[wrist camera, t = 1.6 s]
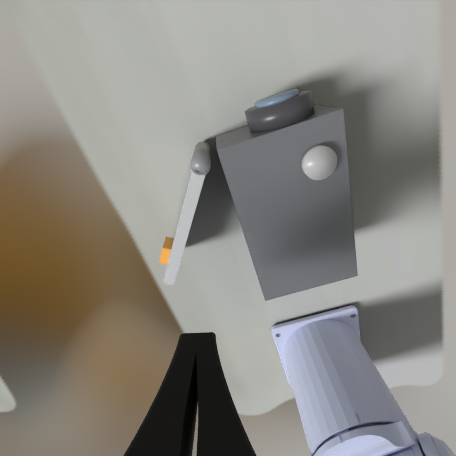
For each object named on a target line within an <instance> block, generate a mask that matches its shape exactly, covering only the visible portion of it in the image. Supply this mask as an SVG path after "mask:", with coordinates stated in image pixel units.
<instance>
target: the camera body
mask: <svg viewBox="0 0 456 456" xmlns="http://www.w3.org/2000/svg"><path fill="white" fill-rule="evenodd" d="M245 114H246V118H247V122H248V125H247V126H244V127H241V128H238V129H235V130H232V131H229V132H226V133H223V134H220V135H217V136H216V146H217V152H218V155H219V158H220V162H221V165H222V168H223V171H224V174H225V177H226V180H227V183H228V186H229V190H230V193H231V196H232V199H233V202H234V205H235V208H236V211H237V214H238V217H239V221H240V224H241V227H242V230H243V233H244V236H245V239H246V242H247V245H248V248H249V252H250V255H251V258H252V261H253V264H254V267H255V270H256V273H257V276H258V280H259V283H260V286H261V289H262V292H263V295H264V298H265V301H266V300H270V299H274V298H277V297H281V296H285V295H288V294H292V293H296V292H300V291H303V290H307V289H311V288H314V287H318V286H322V285H325V284H329V283H333V282H337V281H340V280H344V279H348V278H351V277H355V276H358V274H357V262H356V251H355V239H354V227H353V215H352V203H351V191H350V179H349V167H348V156H347V144H346V132H345V120H344V109H343V108H335V107H326V106H318V105H314V103H313V96H312V90H306V91H301V92H299V90H298V89H293V90H289V91H285V92H282V93H278V94H275V95H272V96H269V97H267V98H264V99H261V100H259V101H257V102H255V106H254V107H252V108H250V109H248V110H246V111H245Z"/></svg>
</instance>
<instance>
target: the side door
mask: <svg viewBox="0 0 456 456" xmlns="http://www.w3.org/2000/svg"><path fill="white" fill-rule="evenodd" d="M210 168H211V148H210V146H209V144H207V143H206V142H200V143H198V144H197V145H196V147H195V150H194V153H193V157H192V160H191V169H192V171H191V175H190V179H189V183H188V187H187V191H186V195H185V198H184V202H183V206H182V210H181V214H180V218H179V222H178V225H177V229H176V233H175V237H174V238H169V237H166V238H165V242H164V245H163V248H162V252H161V256H160V261H159V263H162V264H166V265H167V268H166V272H165V276H164V280H163V283H164V284H169V285H174V283H175V280H176V276H177V273H178V269H179V266H180V262H181V259H182V255H183V252H184V248H185V245H186V241H187V238H188V234H189V231H190V227H191V224H192V220H193V217H194V213H195V210H196V206H197V203H198V199H199V196H200V192H201V189H202V185H203V182H204V178H205V175H206V174H207V173H208V172H209V171H210Z"/></svg>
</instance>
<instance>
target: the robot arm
mask: <svg viewBox="0 0 456 456" xmlns="http://www.w3.org/2000/svg"><path fill="white" fill-rule="evenodd" d="M271 331H272V335H273V338H274V341H275V344H276V347H277V350H278V353H279V356H280V359H281V362H282V365H283V368H284V371H285V374H286V377H287V380H288V383H289V385H291V386H292V388H293V391H294V395H295V399H296V402H297V406H298V409H299V413H300V416H301V420H302V424H303V428H304V431H305V435H306V439H307V442H308V446H309V449H310V453H311V456H455V454H454V453H453V452H452V450H451V449H450V448H449V447H448V446H447V445H446V443H444V441H442V440H440V439H438V438H436V437H433V436H432V435H431V434H429V433H427V432H424V433H422V434H419V435H418V434H417V433H416V432H415V431H414V430H413V428H412V427H411V425H410V423H409V422H408V420H407V418H406V417H405V415H404V413H403V412H402V410H401V408H400V407H399V405H398V403H397V401H396V400H395V398H394V397H393V395H392V393H391V392H390V390H389V388H388V386H387V385H386V383H385V381H384V380H383V378H382V376H381V375H380V373H379V371H378V370H377V368H376V366H375V365H374V363H373V361H372V360H371V358H370V356H369V355H368V353H367V351H366V350H365V348H364V346H363V345H362V343H361V339H360V328H359V317H358V310H357V308H356V307H355V306H353V305H351V306H347V307H343V308H339V309H335V310H331V311H328V312H324V313H320V314H316V315H312V316H308V317H305V318H301V319H297V320H293V321H289V322H286V323H282V324H278V325H274V326H273V327H272V328H271ZM197 405H198V441H197V456H256V454H255V452H254V450H253V448H252V446H251V443H250V441H249V439H248V437H247V434H246V432H245V430H244V428H243V425H242V423H241V420H240V418H239V415H238V413H237V410H236V408H235V405H234V403H233V400H232V397H231V395H230V392H229V389H228V386H227V383H226V380H225V377H224V374H223V370H222V367H221V363H220V359H219V355H218V350H217V345H216V335H215V334H214V333H213V332H210V333H184V334H181V335H180V338H179V341H178V344H177V348H176V350H175V353H174V356H173V359H172V361H171V364H170V366H169V369H168V371H167V373H166V376H165V378H164V380H163V382H162V385H161V387H160V389H159V391H158V393H157V395H156V397H155V399H154V401H153V403H152V405H151V407H150V409H149V411H148V413H147V415H146V417H145V419H144V421H143V423H142V424H141V426H140V428H139V430H138V432H137V434H136V435H135V437H134V439H133V440H132V442H131V444H130V446H129V448H128V449H127V451H126V452H125V454H124V456H192V449H193V441H194V432H195V422H196V414H197Z"/></svg>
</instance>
